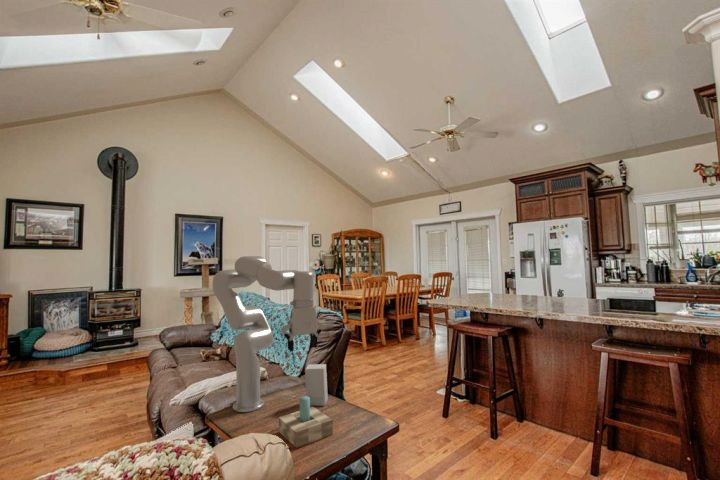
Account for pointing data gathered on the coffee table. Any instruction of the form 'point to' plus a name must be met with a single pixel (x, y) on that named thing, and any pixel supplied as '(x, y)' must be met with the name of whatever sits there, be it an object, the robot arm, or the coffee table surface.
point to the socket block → (305, 427)
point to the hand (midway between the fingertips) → (302, 348)
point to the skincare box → (316, 384)
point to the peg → (304, 409)
